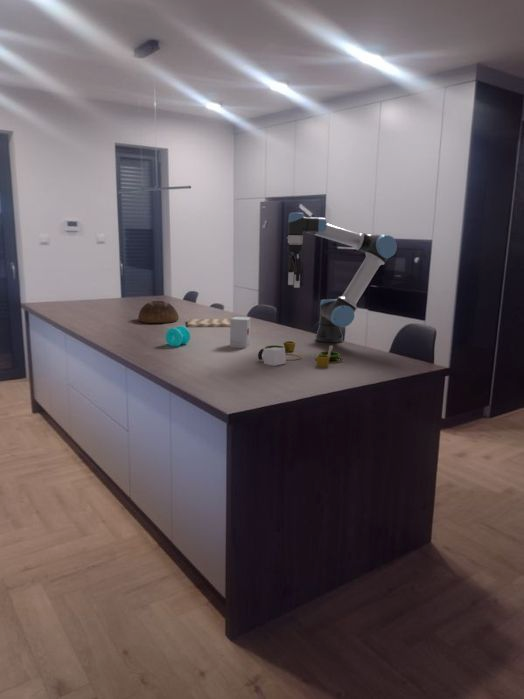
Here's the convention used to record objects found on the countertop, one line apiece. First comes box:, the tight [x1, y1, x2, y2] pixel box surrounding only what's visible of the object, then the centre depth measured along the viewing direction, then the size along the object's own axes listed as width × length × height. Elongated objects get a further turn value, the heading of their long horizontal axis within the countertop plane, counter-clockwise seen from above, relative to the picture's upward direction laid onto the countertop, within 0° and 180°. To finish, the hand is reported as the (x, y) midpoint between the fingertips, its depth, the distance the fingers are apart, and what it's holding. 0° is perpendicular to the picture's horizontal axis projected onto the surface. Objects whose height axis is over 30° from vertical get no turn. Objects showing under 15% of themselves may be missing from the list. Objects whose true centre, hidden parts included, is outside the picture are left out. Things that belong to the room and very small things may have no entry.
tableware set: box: [264, 340, 343, 368], centre depth 257 cm, size 41×28×6 cm
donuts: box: [165, 325, 191, 347], centre depth 278 cm, size 10×10×10 cm
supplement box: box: [229, 316, 251, 349], centre depth 279 cm, size 9×9×15 cm
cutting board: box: [186, 318, 232, 328], centre depth 344 cm, size 30×20×2 cm, turn 100°
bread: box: [137, 300, 180, 324], centre depth 351 cm, size 26×27×13 cm
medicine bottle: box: [257, 347, 287, 367], centre depth 244 cm, size 7×7×12 cm
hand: (293, 286), depth 276 cm, fingers open, 13 cm apart
